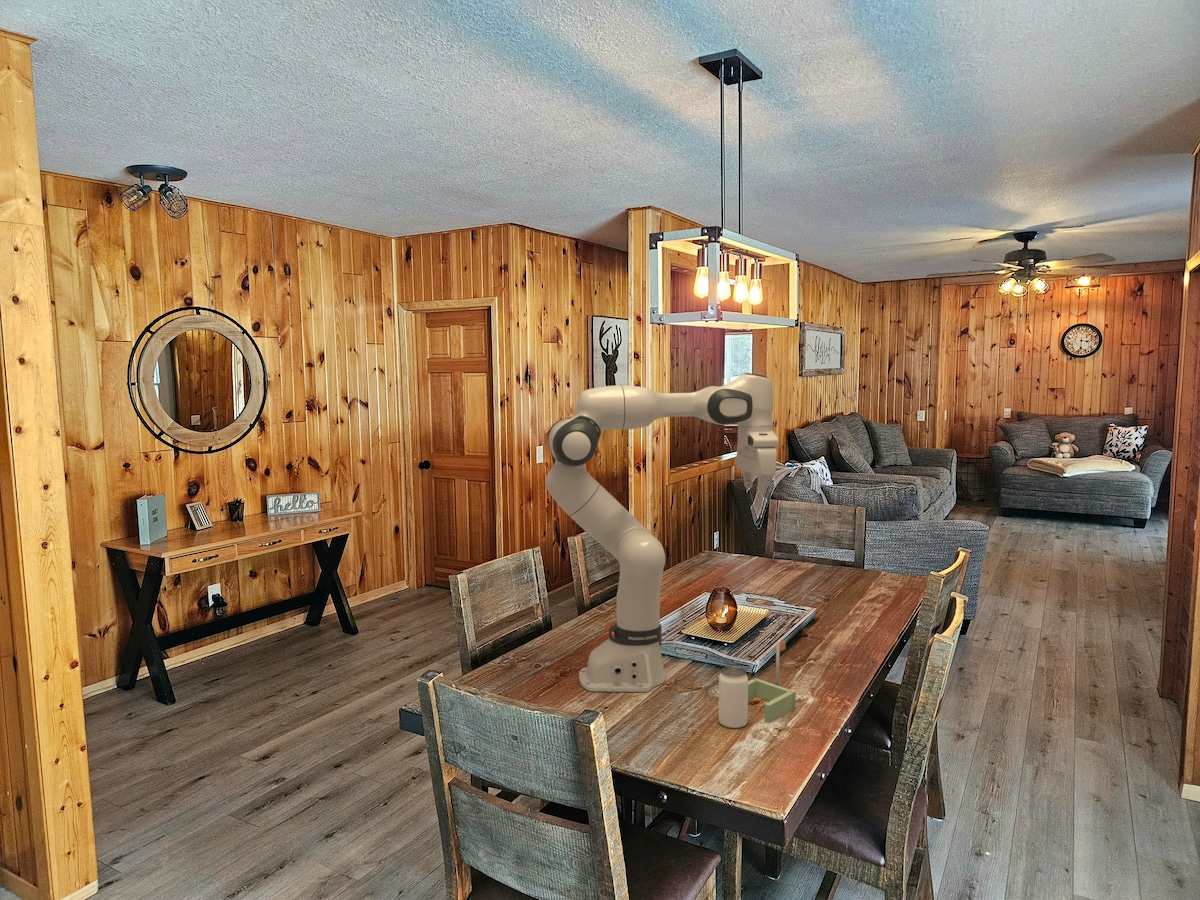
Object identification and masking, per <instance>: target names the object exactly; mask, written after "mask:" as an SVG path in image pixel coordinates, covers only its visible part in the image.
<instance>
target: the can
mask: <svg viewBox="0 0 1200 900" xmlns="http://www.w3.org/2000/svg"><path fill="white" fill-rule="evenodd" d="M748 681H749V677H748V676H747V671H746V670H745V669H744V668H742V667H739V666H726V667H722V668H721V669H720V674H719V675H718V722H719V724H720V725H721V726H723V727H725V728H728V729H741V728H744V727H745V726H747V724H748V719H749V718H748V717H749V716H748V715H749V714H748V711H749V700H748Z"/></svg>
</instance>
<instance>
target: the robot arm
mask: <svg viewBox="0 0 1200 900" xmlns="http://www.w3.org/2000/svg"><path fill="white" fill-rule="evenodd" d="M575 405H576V411H575V414H574V415H573V416H572V417H566V418H561V419H559V420H557V421H555V423H554V424H552V425H551V427H550V428H549V431H548V434H547V445H548V449H549V451H550V455H551V459H552V462H553V463H554V465H553V466H552V468H551V469H550V470H549V471H548V472H547V474H546V477H545V480H544V485H545V489H546V491H548V493H549V495H550V497H551V498H552V499H553V500H554V502H555V503H556V504H557V505H558V506H559V507H560V508H561V509H562V511H564V513H566V514H567V515H568V516H569V518H571V519H572V520H573V521H574V522H575V523H576V524H577V525H578V526H579V527H580V528H582V530H584V532H586V534H587V535H589V536H590V537H591V538H593V540H595V541H596V542H598V544H599V545H600V546H602V547H603V548H604V549H605V550H607V551H608V552H609V554H611V555H612V556H613V557H614V558H615V559H616V560H617V562H618V563H619V578H618V587H617V592H616V623H614V624H613V622H610V621H609V622H607V623H606V624H605V623H604V628H605V630H606V632H608V638H607V639H606V640H604V641H603V642H602V643H601V644H600V645H598V646H597V647H596V648H594V649H592V650H591V652H590V653H589V656H588V660H587V666H585V667H582V668H581V669H580V670H579V671H578V672H579V673H578V680H579V684H580V685H581V687H582V688H583V689H585V690H587V691H588V692H611V693H612V692H614V693H615V692H617V693H618V692H619V693H621V692H622V693H623V692H629V693H631V692H632V693H633V692H635V693H636V692H637V693H638V692H639V693H647V692H650V691H651V690H652V689H653V688H654V687H656V686H659V685H661V684H662V683H664V682H665V681H666V680H667V675H666V671H665V667H664V664H663V658H662V649H661V647H662V641H663V630H662V629H663V628H662V624H661V623H660V622H661V621H660V620H661V619H660V614H661V613H660V612H661V611H660V610H661V609H660V608H661V607H660V604H661V603H660V602H661V601H660V600H661V599H660V598H661V588H662V581H663V575H664V568H665V565H666V554H665V550H664V546H663V545H662V543H661V541H659V539H657V538H656V537H655V535H653V533H651V532H650V531H649V530H648V529H647V528H646V527H645V526H644V525H643V524H642V523H641V522H640V521H639V520H638V519H637V518H636V517H635V516H634V515H633V514H632V513H631V512H629V511H628V510H627V508H625V507H624V506H623V505H622V504H621V503H620V502H619V501H618V500H617V499H616V498H615V497H614V496H613V495H612V494H611V492H609V491H607V490H606V488H605V487H603V485H602V484H600V483H599V482H598V481H597V480H596V479H595V478H594V477H593V476H592V475H591V474H590V473H589V472H588V471H587V469H586V464H587V463H588V462H590V461H591V459H593V457H594V456H595V453H596V452H597V448H598V445H599V441H600V438H601V434H602V432H605V431H616V430H617V431H618V430H619V431H621V430H625V431H626V430H636V429H641V428H645V427H646V428H647V427H649V426H650V425H651V424H653V422H655V421H657V420H659V419H662V418H675V417H676V418H679V417H680V418H681V417H691V418H695V419H697V420H699V421H701V422H705V423H710V424H714V425H715V424H716V425H720V426H728V425H732V424H736V423H737V447H736V456H735V457H736V458H735V459H736V461H735V463H736V468H737V469H739V470H742V477H743V481H744V485H743V486H744V487H745V488H746V489H752V488H753V485H754V484H753V480H752V475H755V476H756V477H757V486H756V493H757V494H759V495H761V494H762V495H763V494H765V493H766V487H767V483H768V479H769V478H774V477H775V475H776V472H777V462H778V460H777V459H778V451H777V447H779V445H780V442H779V441H780V439H779V437H778V436H777V435H776V434H775V431H774V423H773V420H772V415H773V411H774V390H773V384H772V381H771V379H770V378H769V377H768V376H766V375H763V374H760V373H758V374H757V373H751V372H744V373H741V375H740V376H739V377H737V378H735V379H734V380H732V381H730V382H728V383H725V384H723V385H721V386H719V385H716V384H708V385H705V386H701V387H699V388H698V389H696V390H694V391H691V392H666V393H665V392H659V391H655V390H652V389H650V388H649V387H643V386H638V385H626V384H625V385H621V384H619V385H618V384H617V385H616V384H615V385H606V386H604V385H603V386H599V387H598V386H597V387H593V388H588V389H585V390H584V391H582V392H581V393H580V394H579V396H578V398H577V400H576V404H575Z"/></svg>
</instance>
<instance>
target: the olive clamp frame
mask: <svg viewBox="0 0 1200 900" xmlns="http://www.w3.org/2000/svg"><path fill="white" fill-rule="evenodd" d="M786 642H787V641H786V640H783V641H780V642H776V643H775V684H774V683H773V682H772V683H771V682H768V681H765V680H763V679H759V678H757V677H754V678H752V679H750V680H748V701H750V700H752V699H754V698H759V699H762V700H765V701H768V702H765V703H764V716H763V718H764V722H765V723H771V722H772V721H774V720H776V719H778V718H780V717H782V716H784V715H786V714H787V713H789V712H791V711H793V710H795V709H796V706H797V705H796V703H797V700H796V698H797V692H796V691H795V690H792V689H788V688H786V687H783V686H780V655H781V654H780V652H782V651H784V650H786ZM794 708H795V709H794Z"/></svg>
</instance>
